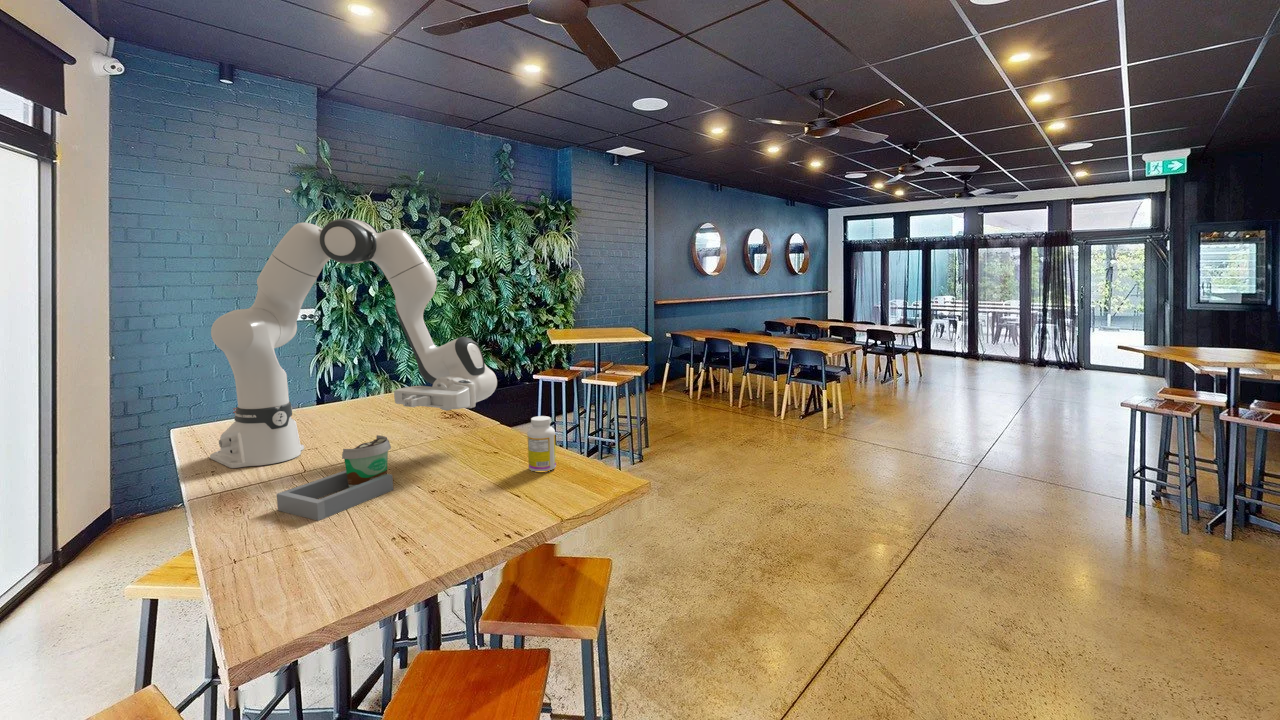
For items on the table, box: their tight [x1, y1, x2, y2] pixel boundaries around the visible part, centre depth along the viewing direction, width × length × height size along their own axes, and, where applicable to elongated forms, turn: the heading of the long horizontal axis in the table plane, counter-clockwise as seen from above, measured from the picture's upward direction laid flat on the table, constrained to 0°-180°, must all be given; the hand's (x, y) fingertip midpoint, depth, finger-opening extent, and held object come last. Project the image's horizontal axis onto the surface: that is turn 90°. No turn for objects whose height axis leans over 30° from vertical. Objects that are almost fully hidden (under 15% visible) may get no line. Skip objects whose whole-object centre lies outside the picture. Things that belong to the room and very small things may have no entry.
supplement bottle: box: [527, 415, 557, 472], centre depth 140 cm, size 7×7×13 cm
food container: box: [341, 434, 392, 488], centre depth 129 cm, size 12×6×10 cm, turn 168°
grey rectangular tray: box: [276, 469, 394, 522], centre depth 121 cm, size 12×18×4 cm, turn 156°
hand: (407, 403), depth 137 cm, fingers closed
